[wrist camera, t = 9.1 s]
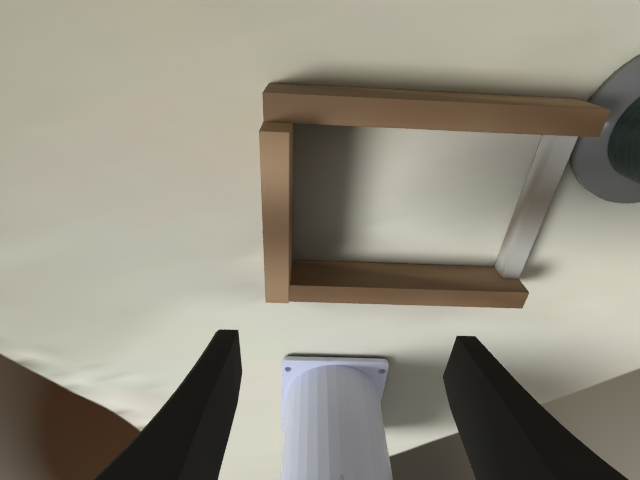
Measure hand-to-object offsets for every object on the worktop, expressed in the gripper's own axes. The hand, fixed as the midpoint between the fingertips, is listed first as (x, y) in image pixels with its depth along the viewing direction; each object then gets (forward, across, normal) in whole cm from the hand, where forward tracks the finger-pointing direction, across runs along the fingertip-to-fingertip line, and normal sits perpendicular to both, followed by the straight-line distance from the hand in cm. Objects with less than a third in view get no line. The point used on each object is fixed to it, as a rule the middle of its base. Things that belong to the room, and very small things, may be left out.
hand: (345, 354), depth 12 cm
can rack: (+10, -4, -1) cm, 11 cm away
